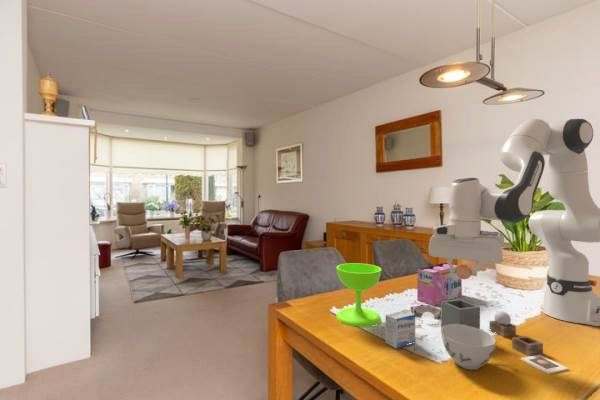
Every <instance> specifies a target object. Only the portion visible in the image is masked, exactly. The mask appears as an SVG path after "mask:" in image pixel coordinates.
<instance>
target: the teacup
mask: <svg viewBox="0 0 600 400" xmlns="http://www.w3.org/2000/svg"><path fill="white" fill-rule="evenodd" d="M440 333H441V338H442V344H443V346H444V348H445V350H446V352H447V354H448V355H449V357H450V358H451V359H452V360H453V362H454V363H455V365H457V366H459V367H461V368H463V369H466V370H471V371H472V370H475V371H476V370H479V368H481V367H483V366H485V365H486V364H487V363H488V362H489V361H490V360H491V358H492V357H493V354H494V353H495V351H496V350H495V349H496V344H497V340H496V338H495V337H494V336H492V335H491V334H490V333H489V332H487V331H485V330H483V329H481V328H480V329H477V328H474V327H470V326H467V325H459V324H449V325H445V326H444V327H442V330H441V329H440Z"/></svg>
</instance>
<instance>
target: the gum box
mask: <svg viewBox="0 0 600 400" xmlns="http://www.w3.org/2000/svg"><path fill="white" fill-rule="evenodd" d="M452 265H453V267H456V268H457V267H458V266H459V265H455V264H452ZM462 280H463V279H461V278H459V277H458V276H457V274H456V273H450V266H449V265H448V263H447V262H443V263H438V264H433V265H430V266H426V267H420V268H417V288H416V289H417V290H416V291H417V298H416V301H418V302H421V303H424V304H428V305H431V306H435V305H436V306H437V305H441V301H449V300H450V299H451V300H454V299H455V297H456V298H458V296H459V297H460V296H462V294H463V291H462V290H463V289H462V286H463V285H462Z"/></svg>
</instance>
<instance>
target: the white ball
mask: <svg viewBox="0 0 600 400" xmlns="http://www.w3.org/2000/svg"><path fill="white" fill-rule="evenodd" d="M494 321H496V322H497V323H498V324H500V325H502V326H506V325H509V324H510V323H511V321H512V319H511V316H510V315H509V313H508V312H505V311H502V310H501V311H497V312H496V313H495V314H494Z"/></svg>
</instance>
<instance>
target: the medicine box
mask: <svg viewBox="0 0 600 400" xmlns="http://www.w3.org/2000/svg"><path fill="white" fill-rule="evenodd" d="M413 342H415V343H416V315H415V314H414V313H412V312H411V311H410V312H409V311H407V310H402V311H397V312H394V313H393V312H392V313H388V314H385V343H386V344H387V345H389V346H391V347H392V348H394V349H396V350H397V349H401V348H404V347H403V346H405V345H407V344H409V343H413ZM405 347H406V346H405Z"/></svg>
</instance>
